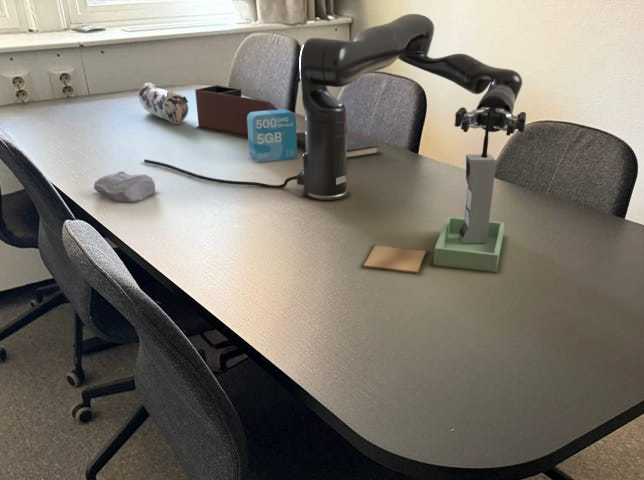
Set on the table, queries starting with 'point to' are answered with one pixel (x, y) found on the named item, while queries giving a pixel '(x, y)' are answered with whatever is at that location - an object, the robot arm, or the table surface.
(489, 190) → the vintage mobile phone
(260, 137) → the data package
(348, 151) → the hardcover book
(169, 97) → the pencil case
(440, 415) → the table surface
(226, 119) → the desk organizer
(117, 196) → the stone block
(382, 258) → the cork pad
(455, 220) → the tray
